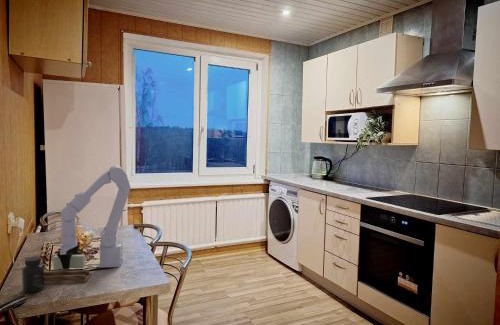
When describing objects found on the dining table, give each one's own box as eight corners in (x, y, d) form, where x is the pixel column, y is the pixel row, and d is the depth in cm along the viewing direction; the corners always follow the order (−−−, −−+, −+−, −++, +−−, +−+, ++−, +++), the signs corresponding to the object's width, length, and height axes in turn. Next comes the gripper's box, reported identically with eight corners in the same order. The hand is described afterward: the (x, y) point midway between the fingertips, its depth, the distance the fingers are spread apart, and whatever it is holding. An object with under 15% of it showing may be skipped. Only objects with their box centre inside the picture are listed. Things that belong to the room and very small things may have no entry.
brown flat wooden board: (91, 274, 142) (91, 268, 142) (85, 282, 135) (85, 276, 134) (44, 276, 140) (44, 270, 139) (35, 284, 132) (35, 278, 132)
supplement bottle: (17, 292, 125) (17, 260, 124) (35, 284, 132) (34, 254, 131) (31, 295, 123) (30, 263, 122) (48, 288, 129) (47, 257, 128)
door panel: (85, 267, 150) (84, 254, 149) (83, 269, 148) (83, 256, 147) (55, 268, 148) (55, 255, 147) (53, 270, 146) (53, 256, 145)
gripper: (65, 229, 153) (65, 259, 154) (51, 239, 139) (52, 272, 140) (82, 229, 154) (82, 259, 155) (70, 239, 140) (70, 271, 141)
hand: (69, 265), depth 148 cm, fingers open, 7 cm apart
